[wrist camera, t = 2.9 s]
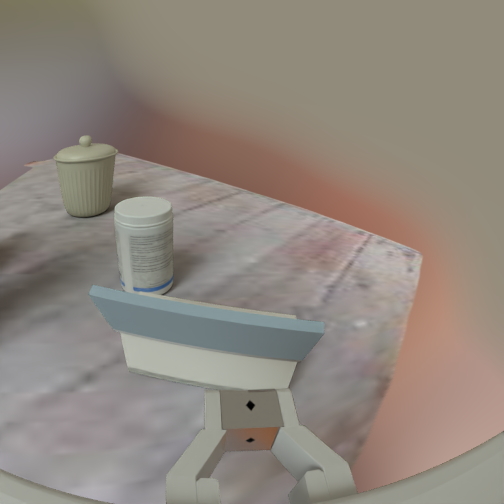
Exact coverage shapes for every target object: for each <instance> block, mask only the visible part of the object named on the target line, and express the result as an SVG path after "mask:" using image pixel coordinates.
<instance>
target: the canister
mask: <svg viewBox="0 0 504 504" xmlns="http://www.w3.org/2000/svg"><path fill="white" fill-rule="evenodd" d="M91 142H92V138H91V137H90V136H82V137H81V138H80V140H79V143H80V145H76V146H72V147H68V148H65V149H63V150H61V151H60V152H58V154H56V155H55V156H54V160H55V161H56V164H57V171H58V177H59V183H60V189H61V194H62V198H63V203H64V206H65V209H66V211H67V212H68V213H69V214H70V215H72V216H76V217H90V216H94V215H98V214H100V213H102V212H104V211H106V210H107V208H108V207H109V205H110V202H111V194H112V185H113V174H114V165H115V156H116V154H117V153H118V150H117V149H115V148H114V147H112V146H110V145H106V144H91Z"/></svg>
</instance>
